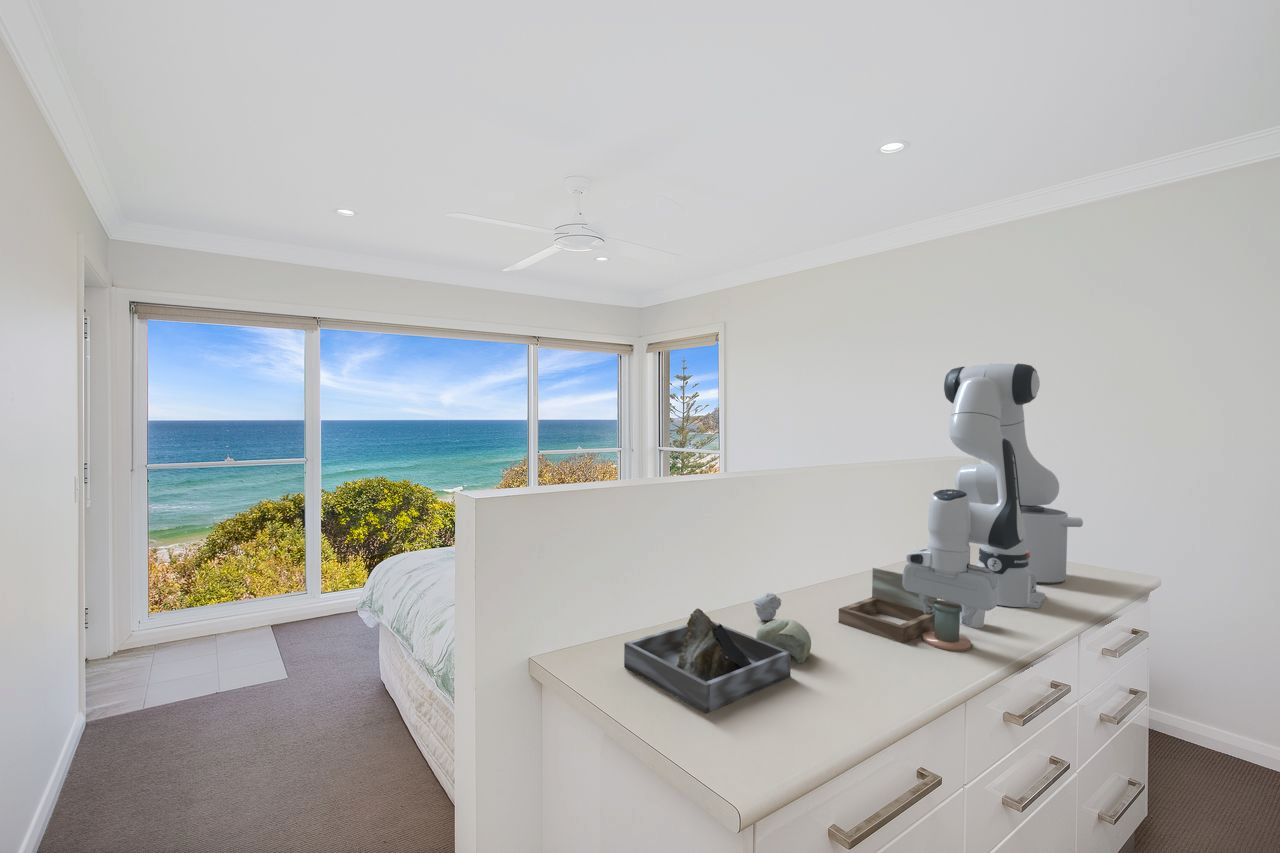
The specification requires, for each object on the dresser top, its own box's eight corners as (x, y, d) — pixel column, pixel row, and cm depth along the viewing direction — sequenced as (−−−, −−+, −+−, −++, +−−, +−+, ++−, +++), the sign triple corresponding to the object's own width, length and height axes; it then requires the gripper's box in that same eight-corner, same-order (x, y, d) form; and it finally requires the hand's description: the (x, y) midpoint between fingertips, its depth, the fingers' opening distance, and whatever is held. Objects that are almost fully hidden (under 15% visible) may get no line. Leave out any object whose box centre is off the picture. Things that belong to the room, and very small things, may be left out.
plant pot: (939, 631, 142) (940, 598, 142) (965, 639, 137) (966, 604, 137) (927, 637, 138) (928, 602, 138) (954, 645, 134) (955, 609, 134)
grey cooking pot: (1043, 568, 206) (1045, 502, 205) (1082, 586, 185) (1085, 512, 184) (978, 566, 208) (980, 500, 207) (1010, 583, 187) (1012, 510, 186)
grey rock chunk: (781, 625, 148) (781, 598, 148) (752, 623, 150) (753, 595, 149) (781, 617, 154) (781, 591, 154) (753, 615, 155) (754, 588, 155)
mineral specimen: (772, 645, 125) (749, 620, 113) (751, 720, 119) (723, 701, 106) (715, 627, 133) (687, 602, 120) (692, 696, 126) (660, 677, 114)
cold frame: (874, 608, 161) (875, 567, 161) (937, 627, 148) (938, 581, 148) (838, 622, 151) (839, 577, 150) (903, 643, 137) (904, 594, 137)
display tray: (706, 640, 138) (706, 618, 138) (790, 676, 119) (790, 652, 119) (624, 666, 123) (624, 643, 123) (705, 713, 104) (706, 685, 104)
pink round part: (934, 631, 145) (934, 627, 145) (978, 644, 137) (978, 639, 137) (914, 640, 139) (914, 636, 139) (959, 654, 131) (959, 650, 131)
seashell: (748, 618, 132) (775, 603, 138) (748, 651, 133) (774, 634, 140) (798, 640, 122) (824, 623, 129) (797, 675, 124) (823, 656, 130)
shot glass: (990, 629, 147) (991, 601, 146) (960, 627, 148) (961, 599, 148) (980, 620, 153) (981, 593, 153) (951, 618, 155) (952, 591, 155)
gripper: (1002, 567, 131) (1001, 628, 132) (912, 550, 147) (911, 604, 148) (991, 572, 127) (989, 635, 128) (899, 553, 143) (898, 609, 144)
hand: (947, 618), depth 138 cm, fingers open, 7 cm apart
